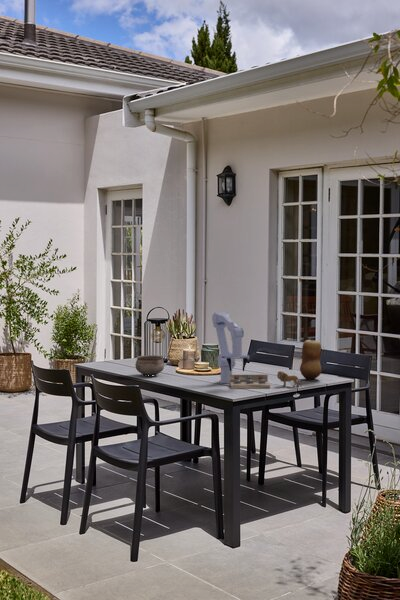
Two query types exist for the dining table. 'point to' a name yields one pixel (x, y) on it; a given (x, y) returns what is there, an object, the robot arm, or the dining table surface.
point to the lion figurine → (287, 378)
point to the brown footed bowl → (149, 364)
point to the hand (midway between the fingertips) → (236, 370)
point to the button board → (244, 379)
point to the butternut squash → (311, 359)
